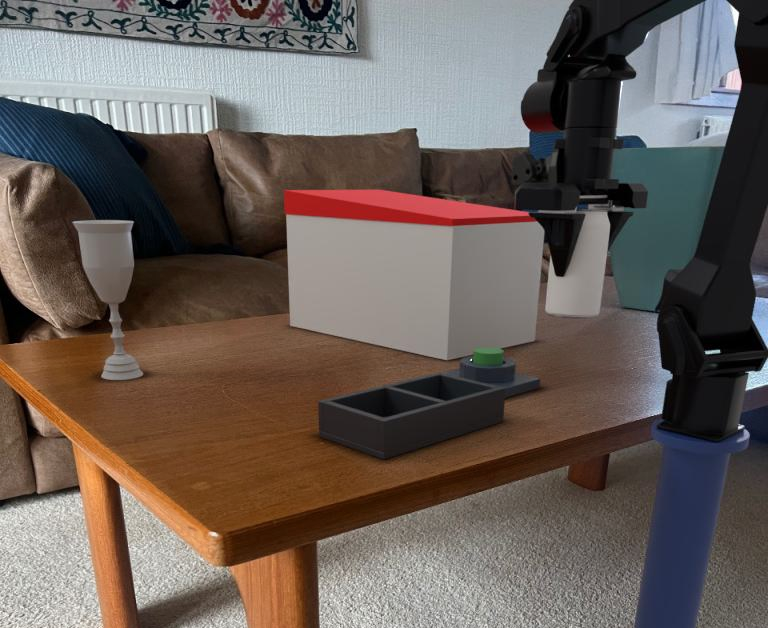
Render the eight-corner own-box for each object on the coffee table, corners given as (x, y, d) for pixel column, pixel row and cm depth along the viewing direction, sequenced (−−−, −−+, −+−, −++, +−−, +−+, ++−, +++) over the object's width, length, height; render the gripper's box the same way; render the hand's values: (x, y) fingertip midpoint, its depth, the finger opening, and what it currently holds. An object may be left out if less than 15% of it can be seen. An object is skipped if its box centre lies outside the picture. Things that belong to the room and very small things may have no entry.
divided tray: (503, 421, 81) (505, 387, 80) (383, 459, 70) (384, 421, 69) (438, 403, 87) (439, 372, 86) (318, 436, 76) (317, 400, 75)
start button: (508, 365, 94) (510, 350, 93) (490, 369, 91) (491, 355, 91) (485, 360, 96) (486, 346, 95) (466, 364, 94) (467, 350, 93)
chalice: (91, 370, 99) (70, 220, 92) (146, 366, 102) (130, 219, 95) (96, 384, 93) (74, 224, 86) (154, 379, 96) (137, 223, 89)
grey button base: (539, 388, 94) (542, 363, 93) (498, 400, 89) (500, 374, 88) (475, 373, 101) (476, 350, 99) (433, 383, 95) (434, 359, 94)
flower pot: (589, 307, 152) (607, 147, 141) (643, 297, 164) (664, 149, 153) (685, 320, 139) (714, 145, 127) (736, 309, 151) (766, 148, 140)
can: (577, 320, 90) (589, 209, 86) (533, 313, 95) (543, 208, 91) (609, 316, 94) (623, 210, 90) (566, 311, 99) (577, 209, 95)
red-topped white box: (377, 312, 143) (378, 189, 135) (534, 340, 121) (547, 195, 112) (288, 325, 130) (283, 190, 122) (446, 360, 107) (453, 196, 99)
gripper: (577, 135, 98) (564, 264, 104) (480, 128, 86) (473, 274, 93) (658, 131, 91) (640, 271, 97) (565, 123, 79) (551, 283, 85)
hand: (576, 274), depth 93 cm, fingers closed on can, 6 cm apart
